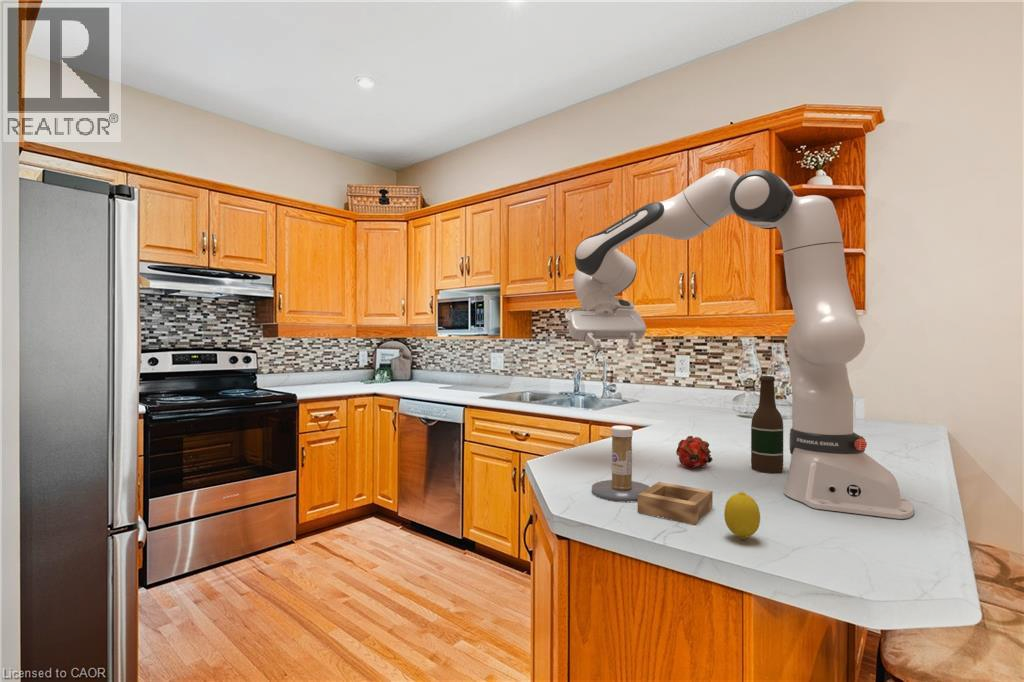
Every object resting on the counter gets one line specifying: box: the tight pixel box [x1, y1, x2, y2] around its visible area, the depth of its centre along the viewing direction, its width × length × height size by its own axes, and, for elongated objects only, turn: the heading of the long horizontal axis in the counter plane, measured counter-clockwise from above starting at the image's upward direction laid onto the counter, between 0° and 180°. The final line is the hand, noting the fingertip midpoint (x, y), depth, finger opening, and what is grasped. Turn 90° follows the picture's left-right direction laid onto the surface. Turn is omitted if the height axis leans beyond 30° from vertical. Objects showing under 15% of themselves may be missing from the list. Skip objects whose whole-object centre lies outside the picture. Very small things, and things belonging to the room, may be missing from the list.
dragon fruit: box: [675, 435, 713, 470], centre depth 136 cm, size 8×8×12 cm
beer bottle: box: [750, 375, 784, 475], centre depth 132 cm, size 8×8×24 cm
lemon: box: [723, 491, 761, 540], centre depth 87 cm, size 6×6×8 cm
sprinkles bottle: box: [610, 425, 633, 490], centre depth 113 cm, size 5×5×14 cm
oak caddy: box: [637, 481, 714, 525], centre depth 102 cm, size 11×11×4 cm
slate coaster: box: [591, 479, 650, 503], centre depth 113 cm, size 13×13×1 cm
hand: (615, 348), depth 129 cm, fingers open, 8 cm apart
